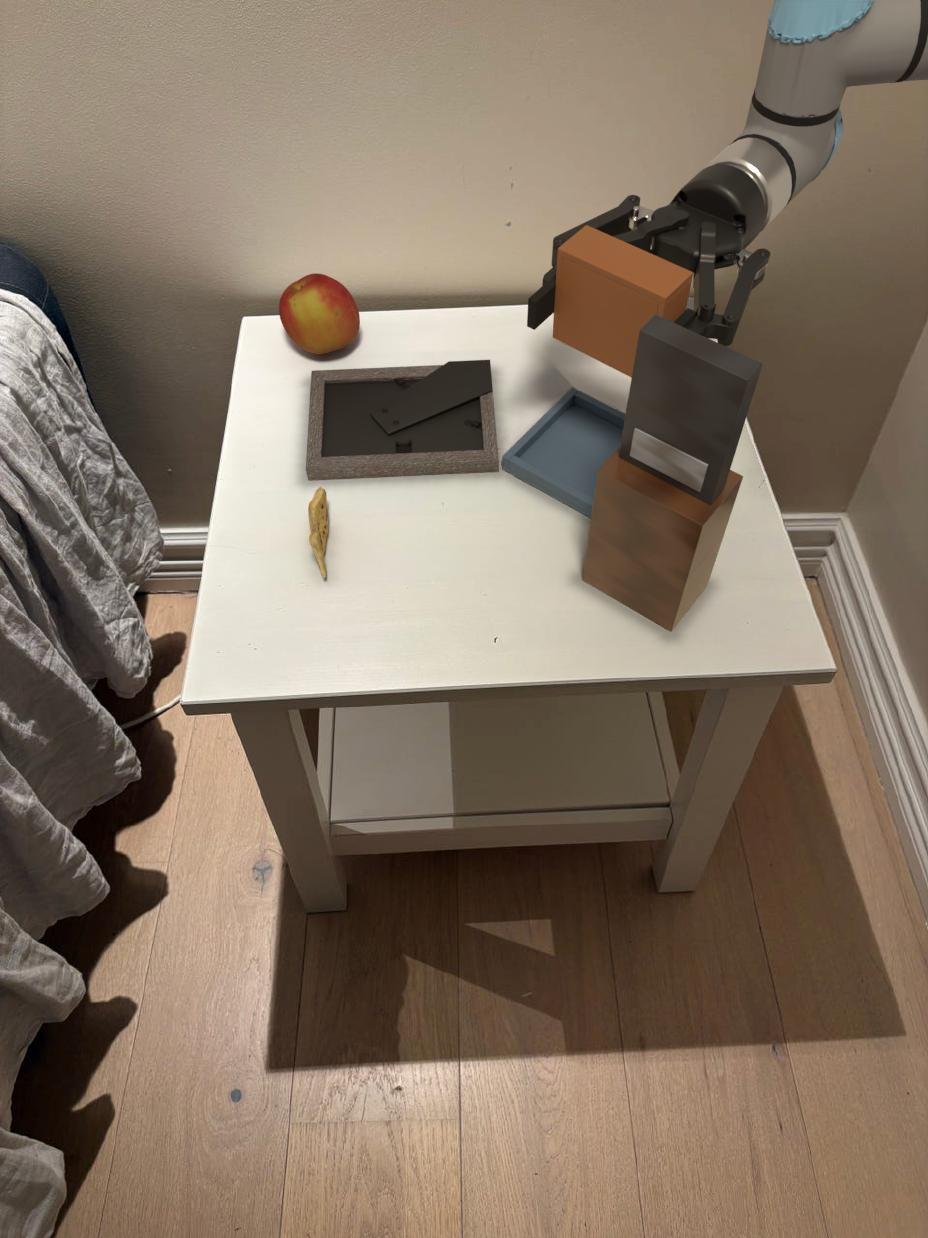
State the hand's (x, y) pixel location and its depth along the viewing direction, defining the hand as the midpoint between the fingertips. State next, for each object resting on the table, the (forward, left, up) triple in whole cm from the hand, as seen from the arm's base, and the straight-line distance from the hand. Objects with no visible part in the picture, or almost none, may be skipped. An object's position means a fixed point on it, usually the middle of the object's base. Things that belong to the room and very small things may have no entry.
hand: (586, 341), depth 75 cm
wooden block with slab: (-11, +5, -18) cm, 21 cm away
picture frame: (+18, +3, -18) cm, 25 cm away
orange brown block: (0, -5, -4) cm, 6 cm away
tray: (0, -4, -18) cm, 18 cm away
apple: (+32, -1, -18) cm, 37 cm away
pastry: (+14, +19, -18) cm, 29 cm away
